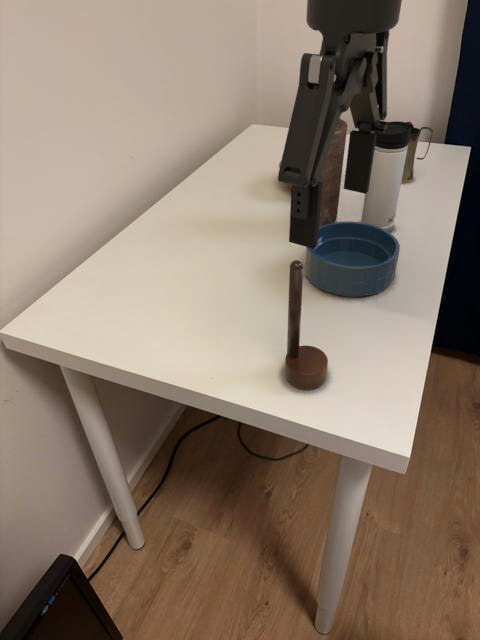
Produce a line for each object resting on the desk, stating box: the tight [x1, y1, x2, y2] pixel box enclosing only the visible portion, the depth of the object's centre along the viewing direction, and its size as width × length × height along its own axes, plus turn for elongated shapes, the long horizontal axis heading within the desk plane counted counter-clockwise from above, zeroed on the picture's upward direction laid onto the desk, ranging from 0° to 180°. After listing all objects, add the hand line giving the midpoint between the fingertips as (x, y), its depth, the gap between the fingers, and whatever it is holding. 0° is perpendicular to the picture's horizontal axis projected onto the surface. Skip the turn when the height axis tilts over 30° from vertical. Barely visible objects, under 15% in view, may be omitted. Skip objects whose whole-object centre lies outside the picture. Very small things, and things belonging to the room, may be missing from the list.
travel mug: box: [360, 120, 414, 233], centre depth 90 cm, size 6×7×20 cm
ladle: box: [284, 259, 329, 391], centre depth 60 cm, size 6×6×18 cm
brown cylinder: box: [318, 118, 348, 227], centre depth 92 cm, size 8×7×20 cm
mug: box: [401, 126, 434, 184], centre depth 110 cm, size 8×6×12 cm
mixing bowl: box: [304, 220, 401, 298], centre depth 83 cm, size 15×15×6 cm
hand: (331, 215), depth 52 cm, fingers open, 13 cm apart
